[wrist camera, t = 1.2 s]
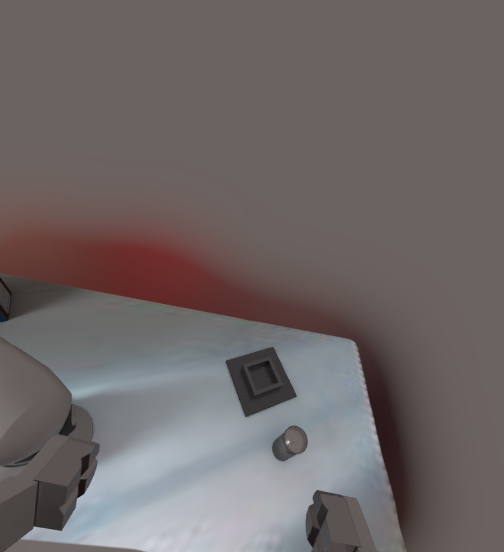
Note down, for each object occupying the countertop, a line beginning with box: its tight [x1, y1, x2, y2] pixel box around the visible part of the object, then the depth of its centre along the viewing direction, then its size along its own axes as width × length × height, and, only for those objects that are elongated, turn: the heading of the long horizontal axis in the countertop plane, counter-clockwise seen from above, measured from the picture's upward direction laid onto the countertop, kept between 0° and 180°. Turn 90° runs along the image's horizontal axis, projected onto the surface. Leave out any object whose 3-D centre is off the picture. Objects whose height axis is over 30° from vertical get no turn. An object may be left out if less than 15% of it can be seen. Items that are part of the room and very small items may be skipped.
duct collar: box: [226, 347, 297, 417], centre depth 77 cm, size 16×16×3 cm
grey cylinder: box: [272, 426, 308, 461], centre depth 63 cm, size 5×5×11 cm
